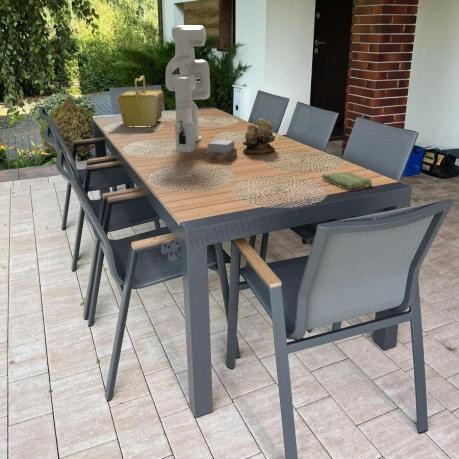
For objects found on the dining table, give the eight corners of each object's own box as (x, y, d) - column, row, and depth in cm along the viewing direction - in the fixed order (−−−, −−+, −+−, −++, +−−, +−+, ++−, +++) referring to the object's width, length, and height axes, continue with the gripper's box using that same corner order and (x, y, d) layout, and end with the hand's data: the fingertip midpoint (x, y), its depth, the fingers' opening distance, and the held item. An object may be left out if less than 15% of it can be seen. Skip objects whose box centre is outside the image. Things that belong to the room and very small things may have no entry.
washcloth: (344, 175, 200) (345, 168, 199) (373, 187, 186) (374, 179, 184) (319, 180, 195) (319, 172, 194) (347, 192, 180) (347, 184, 179)
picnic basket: (159, 128, 302) (156, 78, 290) (119, 128, 303) (114, 79, 291) (165, 120, 329) (162, 74, 317) (128, 120, 330) (124, 75, 318)
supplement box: (196, 148, 231) (195, 122, 226) (190, 152, 224) (189, 125, 219) (182, 147, 233) (181, 121, 228) (176, 151, 227) (174, 124, 221)
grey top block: (208, 151, 226) (207, 143, 224) (215, 147, 235) (215, 139, 233) (227, 153, 223) (227, 144, 221) (234, 148, 232) (234, 140, 230)
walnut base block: (205, 160, 226) (205, 152, 225) (213, 154, 237) (213, 146, 235) (229, 162, 223) (229, 153, 222) (236, 156, 234) (236, 148, 232)
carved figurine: (268, 147, 249) (269, 114, 242) (281, 152, 239) (282, 118, 232) (238, 151, 241) (238, 117, 235) (249, 156, 232) (250, 121, 225)
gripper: (183, 101, 229) (185, 137, 236) (168, 107, 213) (171, 145, 221) (198, 101, 226) (199, 138, 234) (184, 108, 211) (186, 147, 219)
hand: (185, 141), depth 227 cm, fingers closed on supplement box, 7 cm apart
